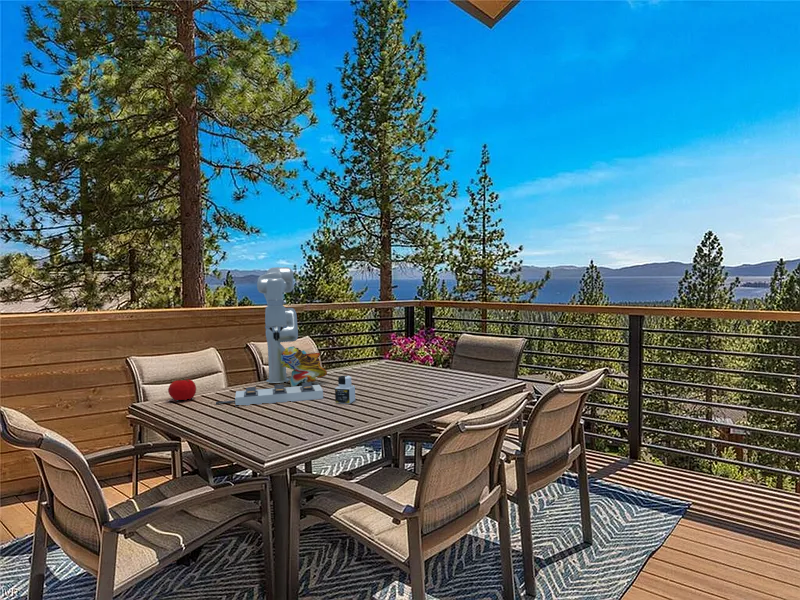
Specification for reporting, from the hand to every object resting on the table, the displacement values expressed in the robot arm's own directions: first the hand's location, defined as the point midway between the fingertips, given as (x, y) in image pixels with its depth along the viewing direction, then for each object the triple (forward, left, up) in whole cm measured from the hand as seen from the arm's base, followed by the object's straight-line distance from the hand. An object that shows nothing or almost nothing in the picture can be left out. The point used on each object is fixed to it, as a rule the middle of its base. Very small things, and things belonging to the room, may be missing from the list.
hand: (276, 340), depth 260 cm
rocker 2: (+14, +13, -22) cm, 29 cm away
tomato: (-5, -45, -27) cm, 53 cm away
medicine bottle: (+28, +29, -27) cm, 49 cm away
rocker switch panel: (+11, -5, -27) cm, 30 cm away
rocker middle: (+14, 0, -22) cm, 26 cm away
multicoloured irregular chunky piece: (-19, +14, -27) cm, 36 cm away
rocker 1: (+14, -13, -22) cm, 29 cm away
